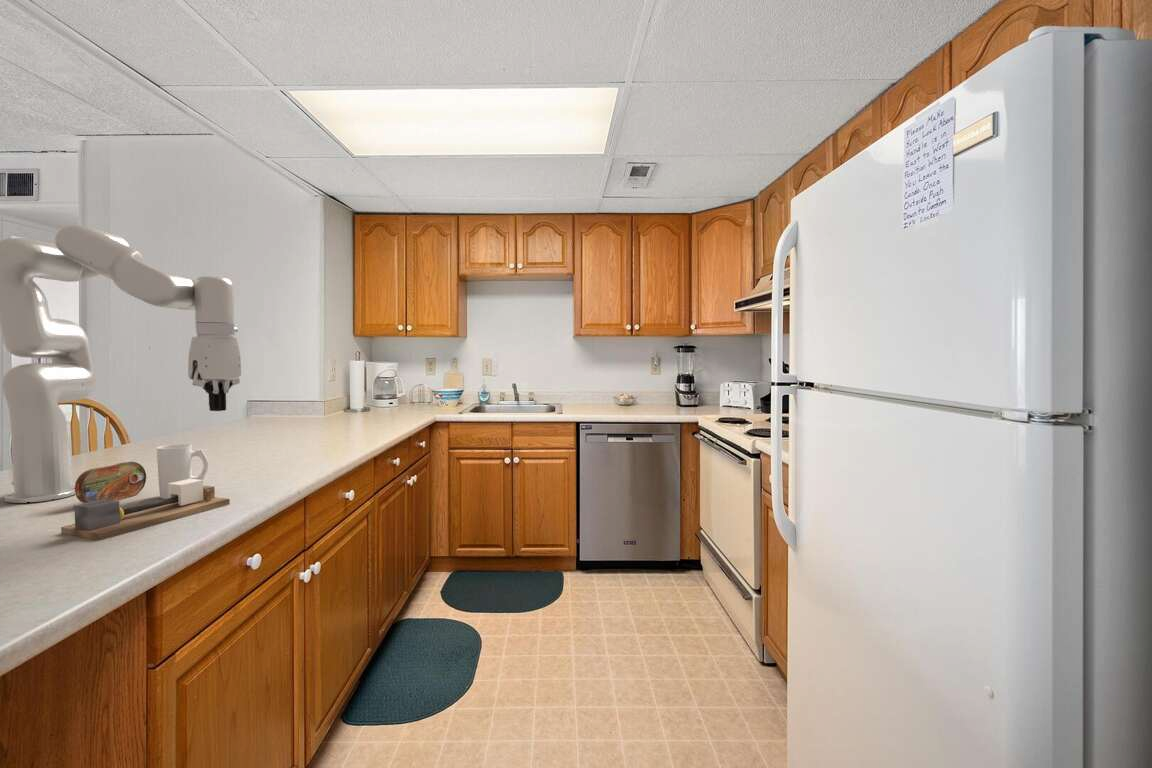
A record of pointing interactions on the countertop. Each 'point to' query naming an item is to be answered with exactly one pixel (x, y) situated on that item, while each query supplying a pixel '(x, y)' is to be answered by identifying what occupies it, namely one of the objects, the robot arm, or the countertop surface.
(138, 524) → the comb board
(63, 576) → the countertop surface
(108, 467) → the tin
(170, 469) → the mug
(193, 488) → the off-white block
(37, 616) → the countertop surface
